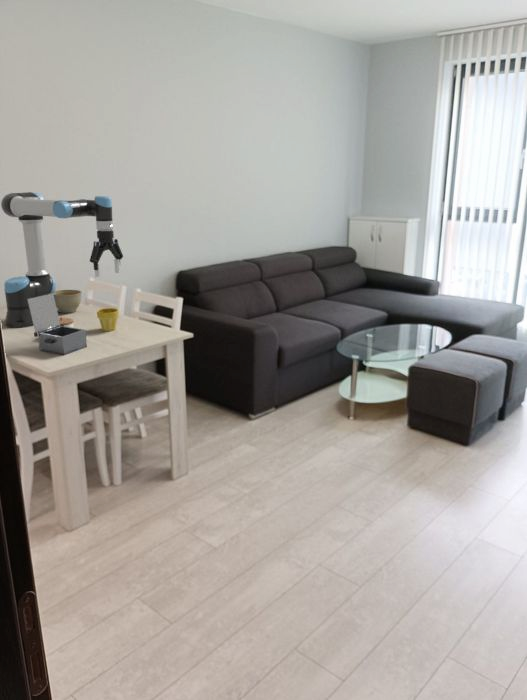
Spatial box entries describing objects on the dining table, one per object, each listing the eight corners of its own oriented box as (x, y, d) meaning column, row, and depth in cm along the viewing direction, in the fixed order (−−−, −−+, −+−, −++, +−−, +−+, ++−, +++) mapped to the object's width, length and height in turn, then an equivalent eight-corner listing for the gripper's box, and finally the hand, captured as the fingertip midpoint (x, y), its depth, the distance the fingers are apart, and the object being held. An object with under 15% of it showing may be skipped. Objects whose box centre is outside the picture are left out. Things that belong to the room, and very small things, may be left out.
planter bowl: (77, 315, 315) (76, 295, 311) (48, 314, 315) (46, 295, 312) (86, 308, 330) (85, 289, 327) (58, 307, 330) (57, 289, 327)
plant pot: (114, 332, 282) (112, 313, 279) (94, 331, 284) (93, 312, 281) (123, 327, 292) (121, 308, 289) (104, 326, 293) (102, 307, 291)
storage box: (34, 351, 252) (32, 332, 249) (63, 341, 267) (62, 323, 264) (61, 356, 246) (59, 337, 243) (89, 345, 260) (87, 328, 258)
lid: (37, 333, 250) (33, 333, 252) (61, 326, 262) (57, 326, 264) (29, 299, 247) (25, 299, 248) (53, 293, 259) (49, 293, 260)
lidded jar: (61, 340, 268) (59, 321, 265) (46, 337, 273) (44, 317, 270) (79, 335, 277) (77, 316, 274) (64, 332, 282) (62, 313, 279)
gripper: (91, 232, 259) (95, 279, 265) (128, 228, 280) (131, 271, 286) (79, 231, 262) (83, 277, 269) (117, 227, 283) (119, 270, 290)
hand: (107, 274), depth 278 cm, fingers open, 13 cm apart
